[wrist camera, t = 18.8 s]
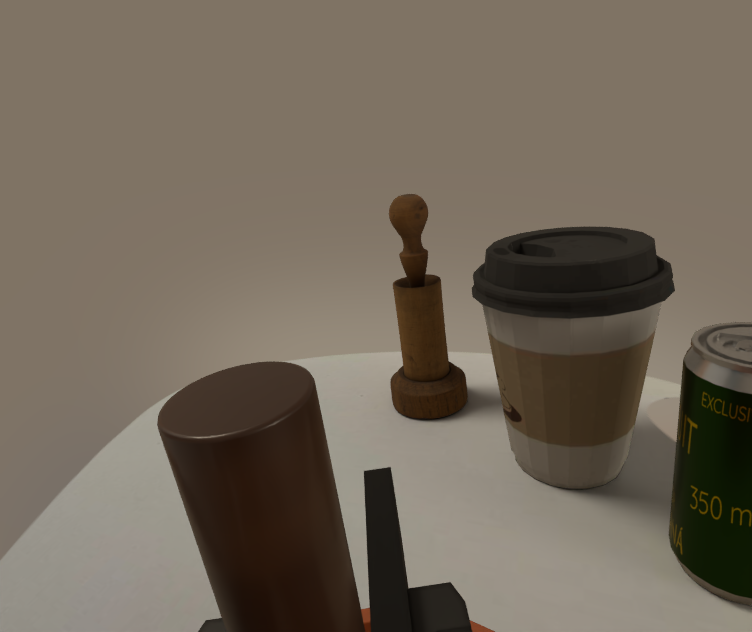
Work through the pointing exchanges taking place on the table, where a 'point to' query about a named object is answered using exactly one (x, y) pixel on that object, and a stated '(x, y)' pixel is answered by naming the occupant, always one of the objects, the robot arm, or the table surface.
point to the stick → (263, 499)
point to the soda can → (715, 463)
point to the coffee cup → (572, 344)
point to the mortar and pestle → (421, 326)
